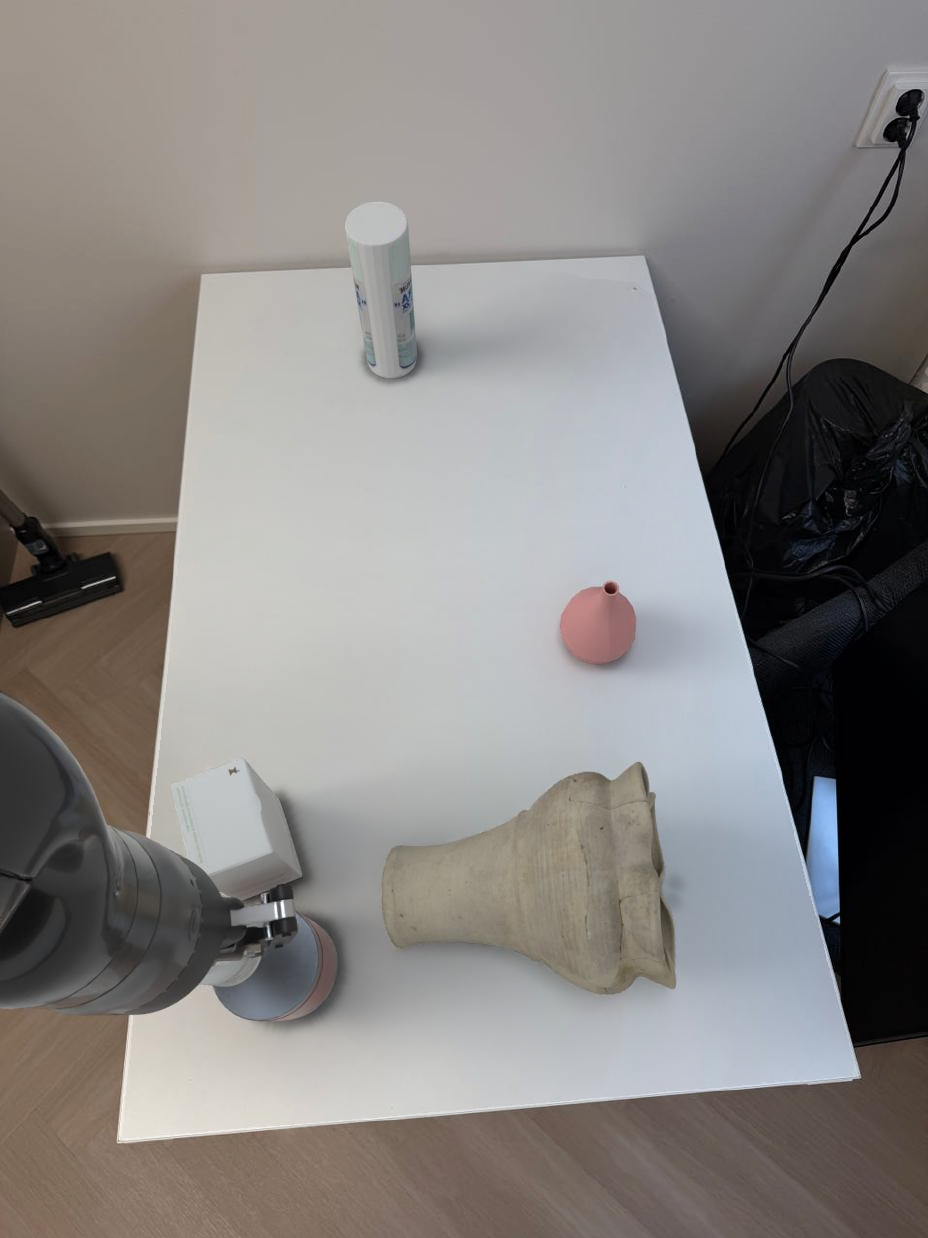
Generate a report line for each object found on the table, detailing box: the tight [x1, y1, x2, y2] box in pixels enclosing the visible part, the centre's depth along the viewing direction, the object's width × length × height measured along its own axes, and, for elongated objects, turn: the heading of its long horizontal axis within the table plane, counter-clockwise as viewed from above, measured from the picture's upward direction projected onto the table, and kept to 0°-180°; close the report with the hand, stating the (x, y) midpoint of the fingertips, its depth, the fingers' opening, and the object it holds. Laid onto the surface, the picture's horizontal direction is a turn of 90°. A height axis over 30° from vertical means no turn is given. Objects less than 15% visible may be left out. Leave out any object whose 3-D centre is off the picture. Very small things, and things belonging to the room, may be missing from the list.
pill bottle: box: [199, 956, 261, 987], centre depth 52 cm, size 4×4×8 cm
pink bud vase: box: [559, 580, 637, 665], centre depth 83 cm, size 8×8×12 cm
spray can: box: [344, 200, 418, 379], centre depth 95 cm, size 6×6×20 cm
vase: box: [380, 761, 677, 996], centre depth 71 cm, size 22×22×28 cm
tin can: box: [212, 911, 339, 1022], centre depth 70 cm, size 8×8×11 cm
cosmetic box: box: [169, 756, 303, 902], centre depth 72 cm, size 8×7×16 cm
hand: (216, 948), depth 53 cm, fingers closed on pill bottle, 4 cm apart
